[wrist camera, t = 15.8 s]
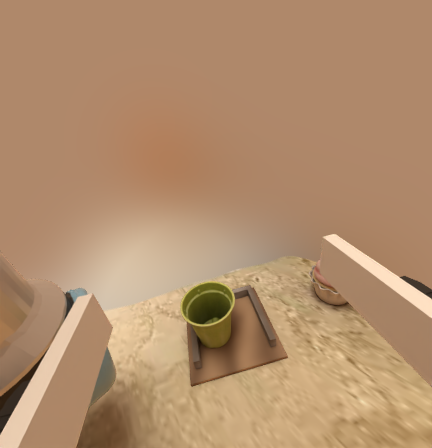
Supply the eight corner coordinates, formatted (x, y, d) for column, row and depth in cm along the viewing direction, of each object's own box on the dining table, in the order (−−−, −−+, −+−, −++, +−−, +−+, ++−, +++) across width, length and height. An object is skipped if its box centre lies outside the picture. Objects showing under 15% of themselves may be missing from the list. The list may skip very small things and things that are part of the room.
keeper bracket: (191, 386, 32) (188, 377, 31) (186, 306, 47) (183, 298, 45) (287, 357, 34) (287, 348, 33) (253, 289, 48) (253, 280, 47)
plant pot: (250, 329, 39) (246, 296, 35) (215, 371, 33) (205, 337, 29) (215, 305, 45) (208, 274, 41) (181, 337, 40) (169, 305, 36)
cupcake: (306, 306, 42) (308, 267, 37) (308, 275, 49) (310, 240, 45) (362, 317, 38) (372, 276, 33) (355, 282, 45) (362, 244, 41)
